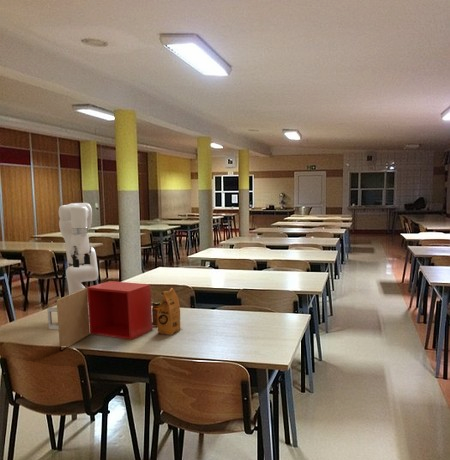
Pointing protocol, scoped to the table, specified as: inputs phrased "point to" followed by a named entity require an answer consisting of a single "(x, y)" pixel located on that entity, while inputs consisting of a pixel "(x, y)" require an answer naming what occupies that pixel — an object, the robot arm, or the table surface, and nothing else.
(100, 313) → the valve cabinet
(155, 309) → the condiment
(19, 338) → the table surface
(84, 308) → the door
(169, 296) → the coffee package
